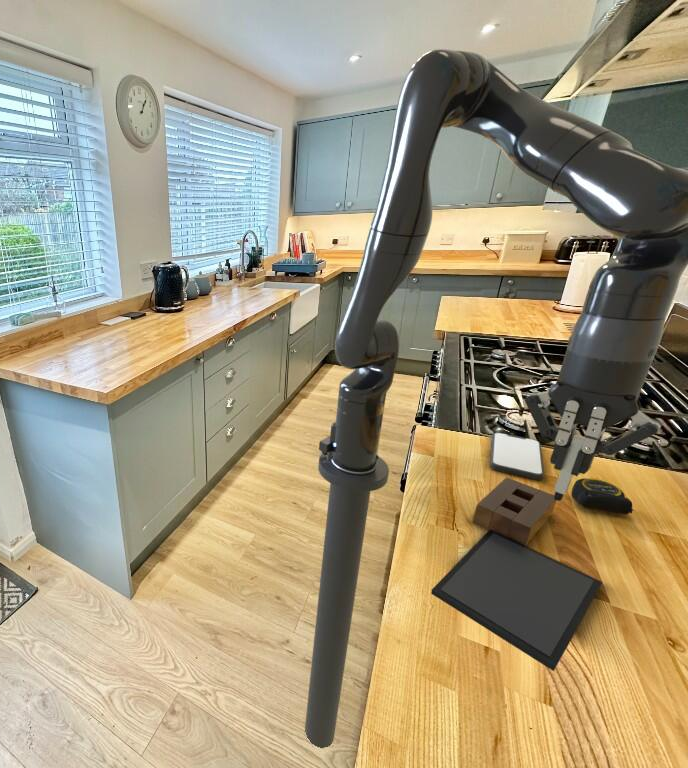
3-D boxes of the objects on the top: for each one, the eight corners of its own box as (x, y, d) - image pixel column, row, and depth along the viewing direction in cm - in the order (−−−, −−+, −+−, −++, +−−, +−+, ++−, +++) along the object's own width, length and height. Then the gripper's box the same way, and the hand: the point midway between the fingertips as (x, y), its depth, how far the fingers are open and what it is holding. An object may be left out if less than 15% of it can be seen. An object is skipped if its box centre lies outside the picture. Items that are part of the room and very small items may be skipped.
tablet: (430, 593, 60) (431, 588, 60) (488, 533, 71) (490, 528, 70) (553, 671, 49) (556, 666, 49) (600, 586, 60) (603, 581, 60)
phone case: (543, 483, 83) (539, 446, 94) (545, 476, 82) (541, 440, 94) (488, 470, 88) (491, 436, 99) (490, 463, 87) (492, 430, 99)
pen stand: (472, 522, 73) (476, 504, 72) (501, 494, 80) (506, 476, 78) (524, 547, 67) (531, 528, 66) (551, 514, 74) (558, 496, 72)
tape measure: (577, 512, 74) (584, 494, 73) (563, 490, 80) (569, 473, 79) (628, 521, 72) (636, 503, 70) (610, 497, 77) (617, 480, 76)
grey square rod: (550, 499, 59) (573, 436, 56) (553, 496, 60) (575, 434, 57) (561, 503, 58) (584, 439, 55) (563, 500, 59) (587, 437, 56)
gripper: (699, 355, 48) (644, 482, 54) (549, 334, 58) (518, 442, 64) (688, 371, 44) (630, 506, 50) (529, 345, 54) (498, 459, 60)
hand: (567, 470), depth 57 cm, fingers closed on grey square rod, 1 cm apart
